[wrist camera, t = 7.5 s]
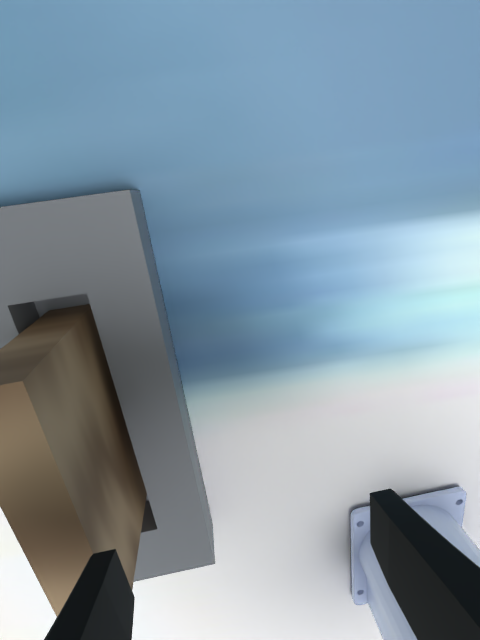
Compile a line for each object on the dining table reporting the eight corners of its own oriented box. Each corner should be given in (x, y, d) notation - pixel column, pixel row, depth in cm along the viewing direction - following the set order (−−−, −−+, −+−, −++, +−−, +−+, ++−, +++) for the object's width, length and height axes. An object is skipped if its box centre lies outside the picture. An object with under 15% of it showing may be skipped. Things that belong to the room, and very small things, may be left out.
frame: (148, 486, 19) (125, 632, 13) (111, 493, 19) (70, 645, 13) (94, 303, 16) (22, 380, 9) (48, 310, 15) (-58, 394, 9)
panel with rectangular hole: (212, 524, 22) (214, 563, 19) (84, 551, 21) (70, 595, 19) (139, 190, 15) (129, 189, 12) (-57, 217, 14) (-107, 221, 12)
